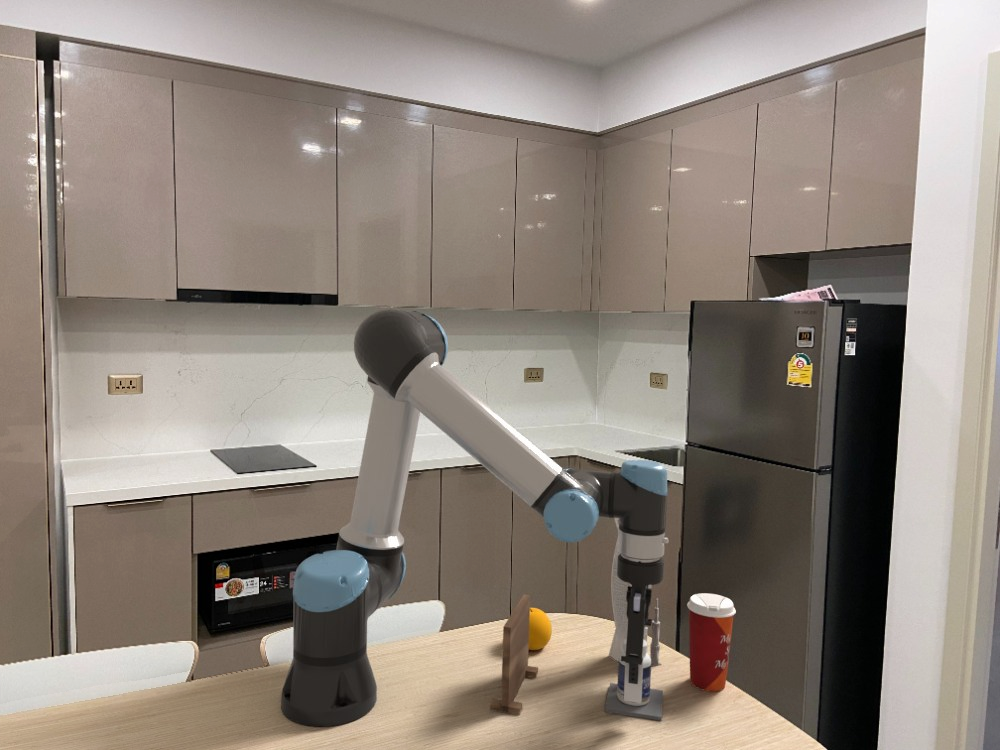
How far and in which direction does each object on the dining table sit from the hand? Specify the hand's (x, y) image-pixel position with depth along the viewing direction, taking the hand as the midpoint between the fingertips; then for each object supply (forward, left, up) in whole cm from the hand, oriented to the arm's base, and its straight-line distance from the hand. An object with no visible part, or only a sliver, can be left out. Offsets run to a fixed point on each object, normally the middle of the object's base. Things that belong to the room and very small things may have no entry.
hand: (635, 681), depth 122 cm
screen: (-20, -2, -4) cm, 20 cm away
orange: (-21, +16, -4) cm, 27 cm away
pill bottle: (0, 0, -3) cm, 3 cm away
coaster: (0, 0, -4) cm, 4 cm away
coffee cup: (+12, +11, -4) cm, 17 cm away
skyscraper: (-2, +16, -4) cm, 17 cm away
